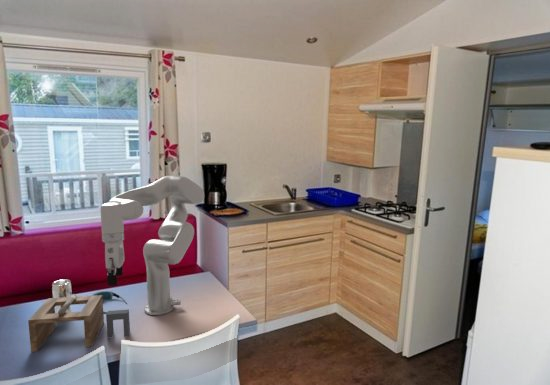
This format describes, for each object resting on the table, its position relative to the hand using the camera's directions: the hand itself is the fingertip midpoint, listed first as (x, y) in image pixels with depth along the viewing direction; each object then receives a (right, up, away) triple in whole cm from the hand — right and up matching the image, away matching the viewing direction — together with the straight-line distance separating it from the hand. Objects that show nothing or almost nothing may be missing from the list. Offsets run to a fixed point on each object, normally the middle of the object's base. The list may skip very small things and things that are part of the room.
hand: (115, 280), depth 143 cm
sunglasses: (-16, -18, +29) cm, 38 cm away
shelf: (-18, -22, +2) cm, 29 cm away
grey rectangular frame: (0, -22, +3) cm, 22 cm away
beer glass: (-29, -19, +18) cm, 40 cm away
